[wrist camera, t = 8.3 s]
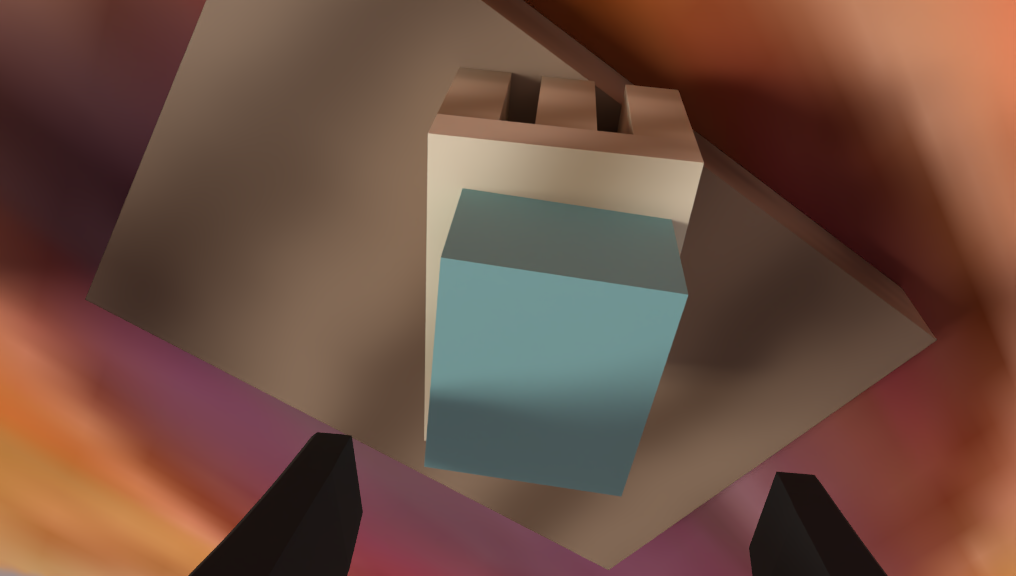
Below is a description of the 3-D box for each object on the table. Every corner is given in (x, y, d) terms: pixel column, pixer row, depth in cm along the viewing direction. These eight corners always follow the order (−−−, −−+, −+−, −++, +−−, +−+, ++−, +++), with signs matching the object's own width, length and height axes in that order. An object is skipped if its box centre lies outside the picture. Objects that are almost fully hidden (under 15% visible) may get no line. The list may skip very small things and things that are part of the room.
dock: (902, 288, 21) (936, 339, 19) (606, 514, 28) (608, 570, 26) (310, -161, 16) (270, -158, 14) (129, 255, 23) (85, 299, 21)
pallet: (678, 89, 16) (703, 162, 12) (619, 359, 20) (626, 464, 17) (459, 67, 16) (428, 132, 13) (449, 339, 20) (423, 440, 17)
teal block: (671, 219, 13) (687, 294, 11) (616, 408, 16) (621, 496, 14) (462, 188, 13) (440, 257, 11) (444, 382, 16) (424, 466, 14)
